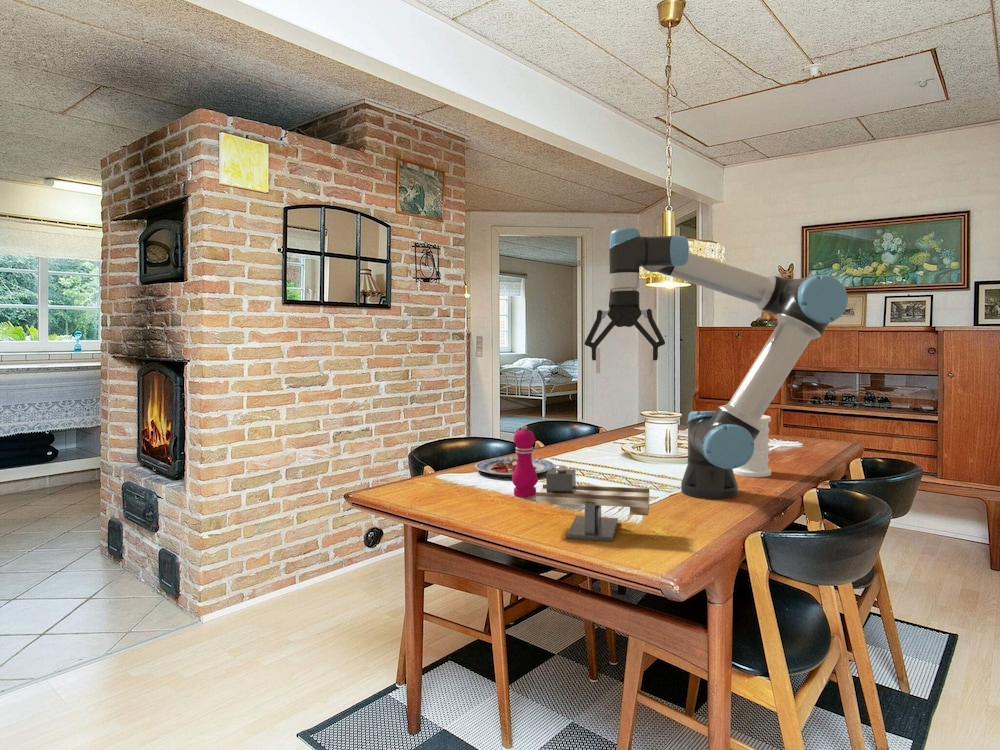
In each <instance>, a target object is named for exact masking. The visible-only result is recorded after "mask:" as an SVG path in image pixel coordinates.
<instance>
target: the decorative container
mask: <svg viewBox="0 0 1000 750" xmlns="http://www.w3.org/2000/svg"><path fill="white" fill-rule="evenodd" d="M771 421H772V417H771V416H770V415H766V414H763V415H762V417H761V419H760V420H759V425H760V429H761V430H760V432H759V434H758V435H757V437H756V439H755V440H754V452H753V455H752V457H751V458H750V460H749V461H748V462H747V463H746V464H744V465H743V466H741V467H739V468H735V469H733V472H734V475H735V476H742V477H746V478H748V477H749V478H766V477H770V476H771V475H772V469H771V468H769V462H770V459H769V458H770V457H769V454H770V453H769V452H770V448H769V442H770V438H769V433H770V427H769V423H771Z"/></svg>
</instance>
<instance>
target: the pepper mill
mask: <svg viewBox="0 0 1000 750" xmlns="http://www.w3.org/2000/svg"><path fill="white" fill-rule="evenodd" d="M535 442H536V436H535V434H534V433H533V431H532V430H529V429H528V426H527V424H521V425H520V430H518V431H516V432H515V433H514V435H513V443H514V445H516V447H515V453H516V457H518V458H517V465H516V468H515V470H514V472H513V475H512V477H511V482H512V484H513V485H514V486H515V487H514V488H513V495H514V497H517V498H532V497H536V492H537V488H536V487H535V486H536V484H537V483H538V480H539V479H538V474H537V473H536V471H535V469H534V467H533V464H532V458H533V457H532V456H533V452H534V447H533V445H534V444H535Z"/></svg>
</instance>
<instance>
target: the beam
mask: <svg viewBox="0 0 1000 750" xmlns="http://www.w3.org/2000/svg"><path fill="white" fill-rule="evenodd" d="M535 501H536V503H538V504H539V503H540V504H557V505H558V504H559V505H560V504H561V505H581V506H583V505H584V506H585V502H595V505H598V506H601V507H618V508H619V507H622V508H623V507H624V508H629V515H632V516H633V515H634V516H649V515H650V514H649V513H650V488H647V487H624V486H621V487H620V486H619V487H618V486H596V485H595V486H594V485H576V491H575V493H574V494H570V493H547V486H546V484H545V483H542V488H541V490H540V491H536V495H535Z"/></svg>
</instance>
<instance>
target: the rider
mask: <svg viewBox="0 0 1000 750" xmlns="http://www.w3.org/2000/svg"><path fill="white" fill-rule="evenodd" d="M545 477H546V479H545V481H546V482H545V483H546V486H547V493H570V494H574V493H575V491H576V486H577V483H576V481H577V480H576V469H567V466H566V465H556V466H555V468H552V469H550V470H548V471H546V473H545Z"/></svg>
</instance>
